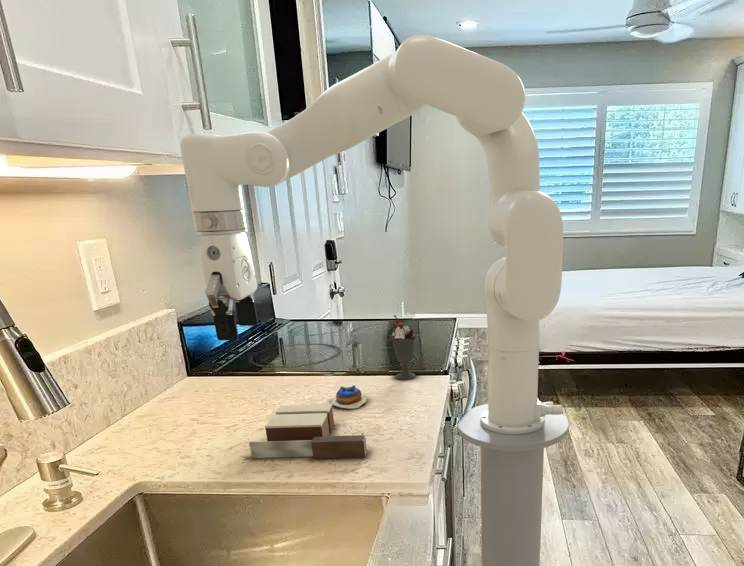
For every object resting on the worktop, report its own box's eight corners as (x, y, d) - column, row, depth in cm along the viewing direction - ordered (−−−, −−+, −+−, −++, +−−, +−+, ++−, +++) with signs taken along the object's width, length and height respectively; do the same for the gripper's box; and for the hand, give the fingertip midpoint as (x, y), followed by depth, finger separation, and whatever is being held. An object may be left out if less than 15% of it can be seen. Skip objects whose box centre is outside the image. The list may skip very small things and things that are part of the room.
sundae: (391, 373, 142) (387, 313, 136) (418, 371, 142) (415, 311, 137) (391, 381, 136) (387, 319, 130) (419, 379, 136) (416, 317, 130)
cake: (329, 435, 108) (327, 412, 106) (324, 448, 102) (321, 424, 101) (277, 436, 108) (273, 414, 106) (268, 449, 103) (264, 426, 101)
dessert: (356, 408, 118) (340, 384, 118) (335, 422, 121) (320, 399, 121) (375, 398, 125) (360, 375, 125) (355, 411, 128) (340, 389, 128)
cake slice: (334, 425, 112) (331, 403, 110) (331, 432, 109) (328, 410, 107) (283, 427, 112) (280, 405, 110) (278, 434, 109) (275, 412, 107)
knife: (367, 451, 101) (365, 434, 99) (365, 457, 98) (363, 440, 97) (254, 454, 101) (251, 438, 100) (250, 460, 99) (246, 444, 97)
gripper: (224, 227, 80) (244, 345, 86) (262, 219, 96) (276, 319, 102) (171, 228, 80) (194, 346, 86) (217, 220, 96) (234, 321, 102)
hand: (238, 332), depth 94 cm, fingers open, 9 cm apart
